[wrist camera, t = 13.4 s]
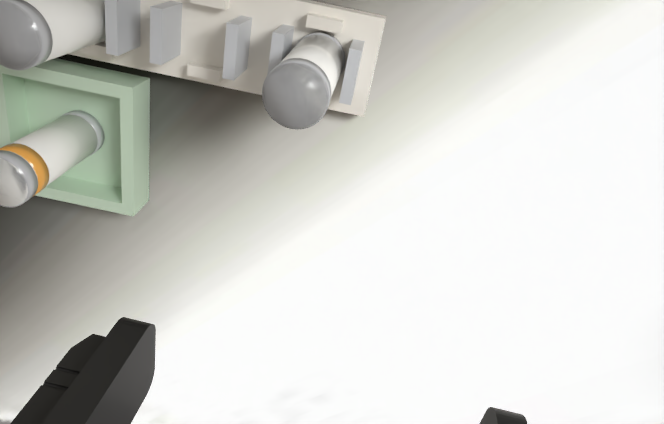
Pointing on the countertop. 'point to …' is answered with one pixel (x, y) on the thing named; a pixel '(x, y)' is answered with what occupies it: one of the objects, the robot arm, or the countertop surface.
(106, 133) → the tray
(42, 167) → the fuse marked
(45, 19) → the cylinder
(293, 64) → the white capsule
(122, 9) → the holder
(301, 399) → the countertop surface
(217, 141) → the countertop surface
